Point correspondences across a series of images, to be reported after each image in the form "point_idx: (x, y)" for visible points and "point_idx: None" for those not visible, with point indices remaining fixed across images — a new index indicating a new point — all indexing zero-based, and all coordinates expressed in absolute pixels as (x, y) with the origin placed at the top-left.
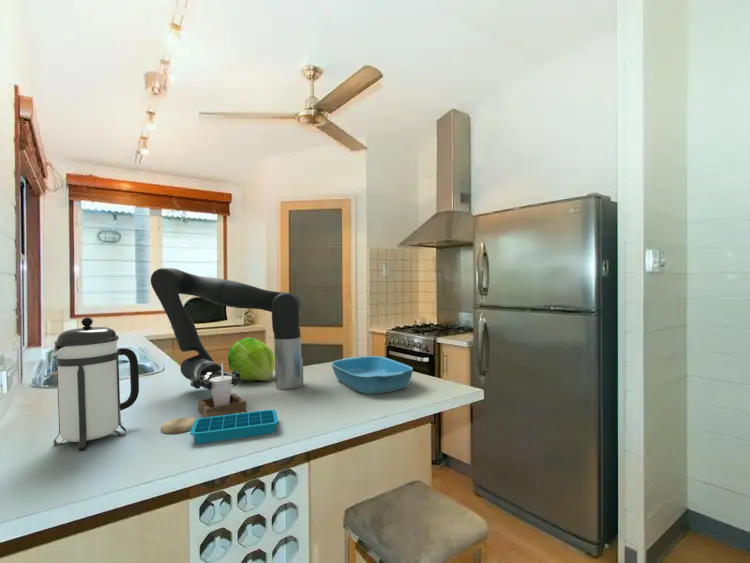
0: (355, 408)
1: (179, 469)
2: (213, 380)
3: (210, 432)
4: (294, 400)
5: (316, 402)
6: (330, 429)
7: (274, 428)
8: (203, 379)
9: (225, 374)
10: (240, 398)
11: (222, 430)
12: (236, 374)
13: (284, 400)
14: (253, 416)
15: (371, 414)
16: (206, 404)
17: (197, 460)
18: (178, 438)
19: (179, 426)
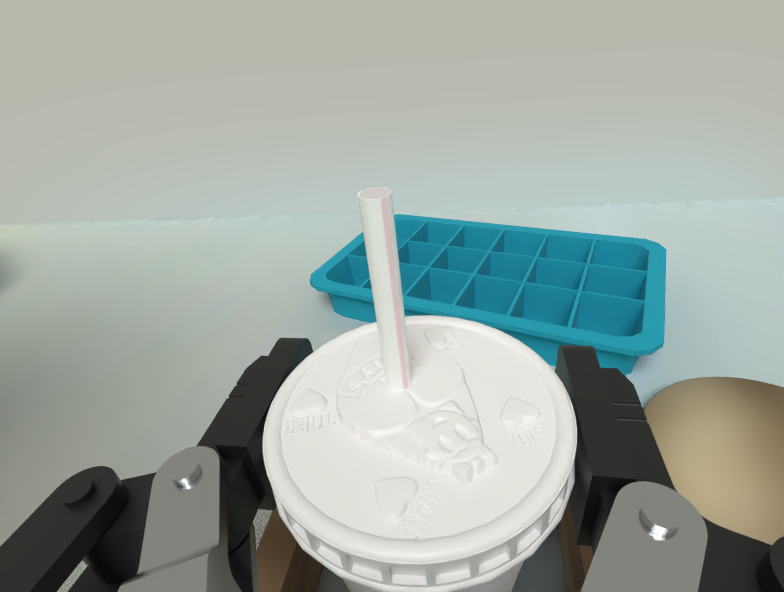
0: (112, 267)
1: (666, 208)
2: (524, 384)
3: (588, 235)
4: (22, 457)
5: (54, 365)
6: (292, 218)
7: None
8: (686, 516)
9: (217, 590)
10: (278, 514)
11: (547, 229)
12: (121, 489)
13: (25, 502)
14: (410, 265)
15: (155, 232)
16: (587, 570)
17: (624, 219)
18: (724, 344)
19: (761, 412)
